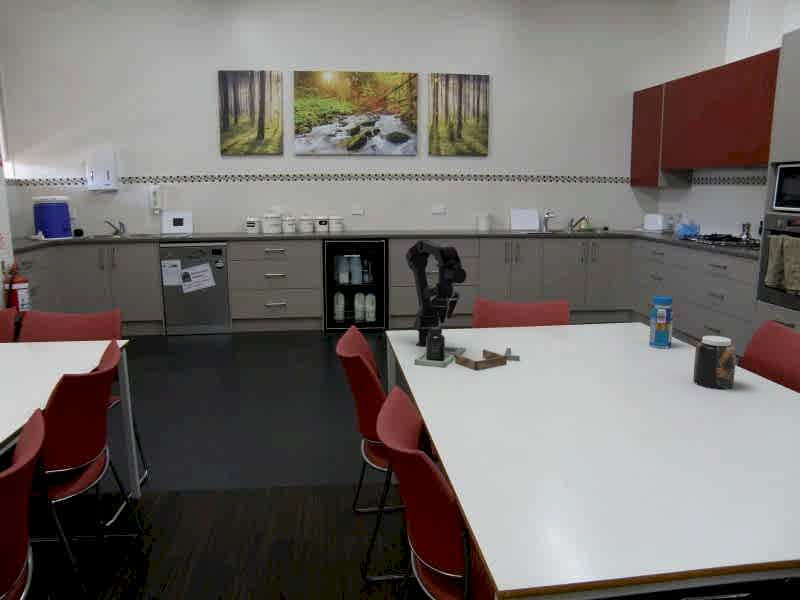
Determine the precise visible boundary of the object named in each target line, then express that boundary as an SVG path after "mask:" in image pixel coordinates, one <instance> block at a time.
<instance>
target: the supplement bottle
mask: <svg viewBox="0 0 800 600" xmlns="http://www.w3.org/2000/svg"><path fill="white" fill-rule="evenodd" d="M445 345H446V339H445V335H443V328H442V327H441V326H438V327H430V328H429V335H428V336H427V337H426V346H425V352H426V359H427V360H431V361H444V360H445Z"/></svg>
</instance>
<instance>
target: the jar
mask: <svg viewBox="0 0 800 600" xmlns="http://www.w3.org/2000/svg"><path fill="white" fill-rule="evenodd" d="M701 338H702V339H701V341H699V342H697V343H696V345H695V353H694V366H693V376H692V377H693V378H692V381H694V382H695V383H697V384H699V385H698V386H700V385H702V386H701V387H703V386H704V387H703V388H707V387H710V388H709V389H713V388H729V387H732V386H733V387H734V384H735V372H736V360H737V348H736V346H735V345H733V344H732V339H731V338H729V337H725V336H719V335H703V336H702V337H701ZM694 382H693V383H694ZM695 383H694V384H695ZM697 384H696V385H697ZM733 387H732V388H733Z"/></svg>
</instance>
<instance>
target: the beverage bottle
mask: <svg viewBox="0 0 800 600" xmlns="http://www.w3.org/2000/svg"><path fill="white" fill-rule="evenodd" d="M653 305H654V307H653V308H652V310H651V311H650V314H651V317H650V319H649V320H650V321H649V322H650V325H649V327H650V329H649V342H648V344H649V346H650V347H651V346H653V347H652V348H655V347H662V348H661V349H667V348H666V347H670V348H671V347H672V336H673V325H674V319H673V316H674V311H673V309H672V308H671V307H672V305H673V297H672V296H669V295H655V296H654V298H653Z"/></svg>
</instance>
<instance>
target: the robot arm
mask: <svg viewBox="0 0 800 600" xmlns="http://www.w3.org/2000/svg"><path fill="white" fill-rule="evenodd" d="M458 253H459V252H458V251H457V249H456V247H455V246H454V245H452V246H450V245H447V246H445V245H444V246H442V245H441V244H438V243H435V242H433V241H431V240H429V239H419V240H417V242H416V243H415V244H413V245H412V246H411V247H409V249H408V251H407V253H406V254H405V260H406V263H407V265H408V268H409V269H410V270H411V271H412V273H413V277H414V283H415V288H416V294H417V300H418V305H419V307H418V309H417V311H416V319H415V320H414V322H413V324H412V325H413V326H412V327H413V330H415V331H416V332H418V342H417V343H415V346H419V347H420V346H422V347H426V337H427V336H428V335H429V328H430V327H439V323H440V324H445V321H446V318H447V319H450V320H451V318H452V316H453V314H454V312H455V310H456V308H457V305H458V302H459V300H460V299H461V293H460V292H459V291H458V290H456V291H455V290H454V288H455V287H454V286H455V285H456V284H459V285H461V284H462V283H464V282H465V281H466V278H467V272H466V270H465V269H464V268H462V263H461V262H462V260H461V257H460V255H459V254H458ZM430 256H433V257H434V259H435V261H437V264H436V268H438V279H437V280H438V282H436V284H435V286H433V287H430V286H429V283H428V279H427V272H426V268H427V266H428V263H429V261H428V260H429V258H430ZM432 297H433V298H432ZM431 298H432V299H431Z"/></svg>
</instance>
